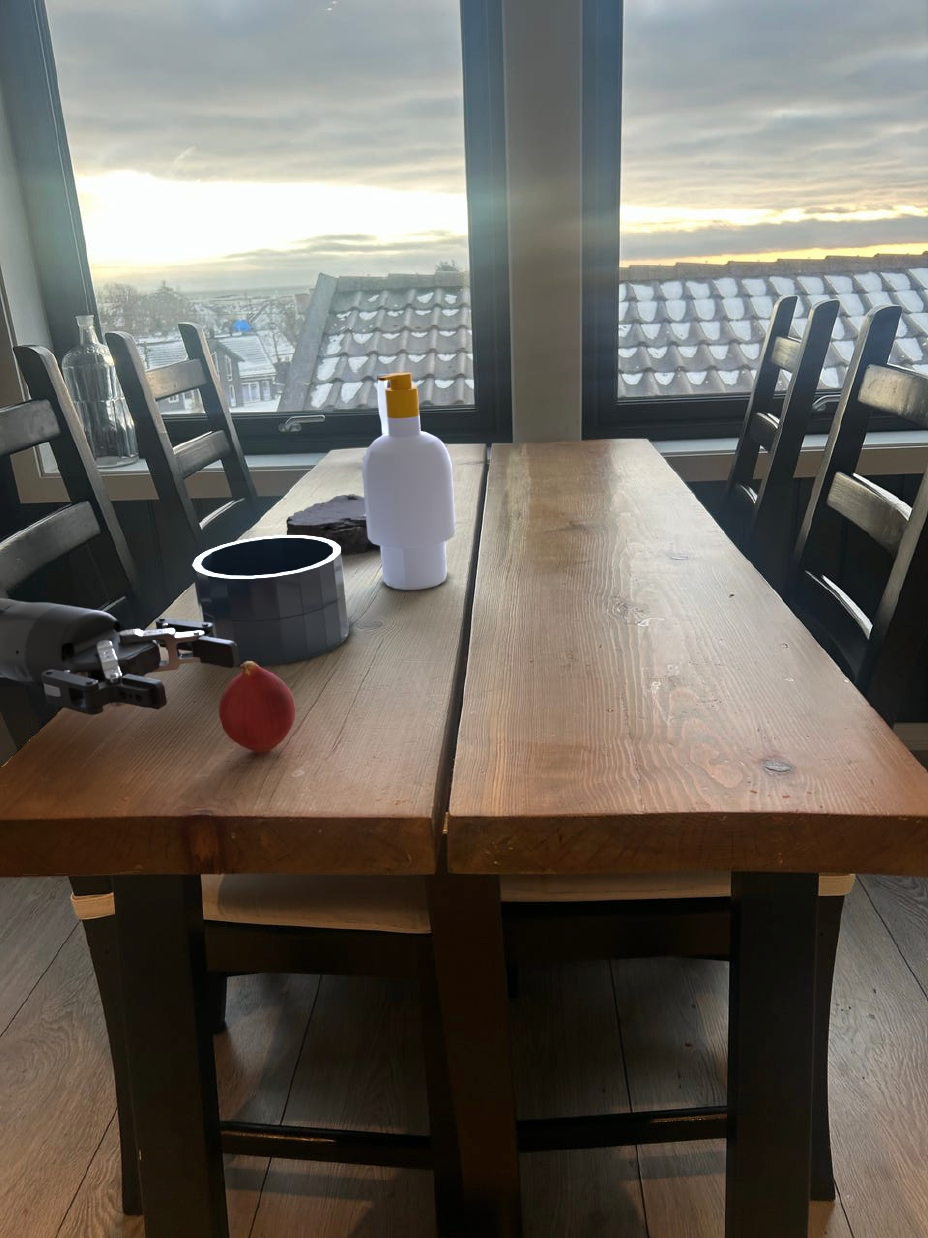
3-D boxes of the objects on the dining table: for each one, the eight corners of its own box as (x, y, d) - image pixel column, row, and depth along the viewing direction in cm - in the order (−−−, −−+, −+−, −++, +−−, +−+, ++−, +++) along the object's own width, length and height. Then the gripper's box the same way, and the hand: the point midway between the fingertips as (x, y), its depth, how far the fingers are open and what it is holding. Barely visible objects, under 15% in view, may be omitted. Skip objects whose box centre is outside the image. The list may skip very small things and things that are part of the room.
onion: (256, 731, 83) (244, 642, 81) (314, 742, 81) (303, 651, 78) (211, 763, 78) (196, 669, 76) (270, 776, 76) (257, 680, 73)
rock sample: (297, 565, 127) (293, 527, 125) (278, 535, 141) (274, 501, 139) (428, 546, 132) (426, 510, 130) (397, 519, 146) (394, 486, 144)
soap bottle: (354, 587, 118) (333, 378, 109) (410, 564, 125) (395, 366, 117) (421, 601, 112) (405, 381, 103) (476, 576, 119) (465, 369, 111)
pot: (288, 676, 94) (277, 585, 91) (175, 653, 101) (161, 568, 98) (376, 624, 106) (369, 542, 102) (269, 607, 113) (259, 530, 109)
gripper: (-22, 636, 80) (127, 664, 73) (112, 582, 92) (251, 601, 84) (-2, 720, 83) (144, 756, 75) (126, 657, 94) (262, 683, 87)
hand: (200, 674), depth 80 cm, fingers open, 8 cm apart
